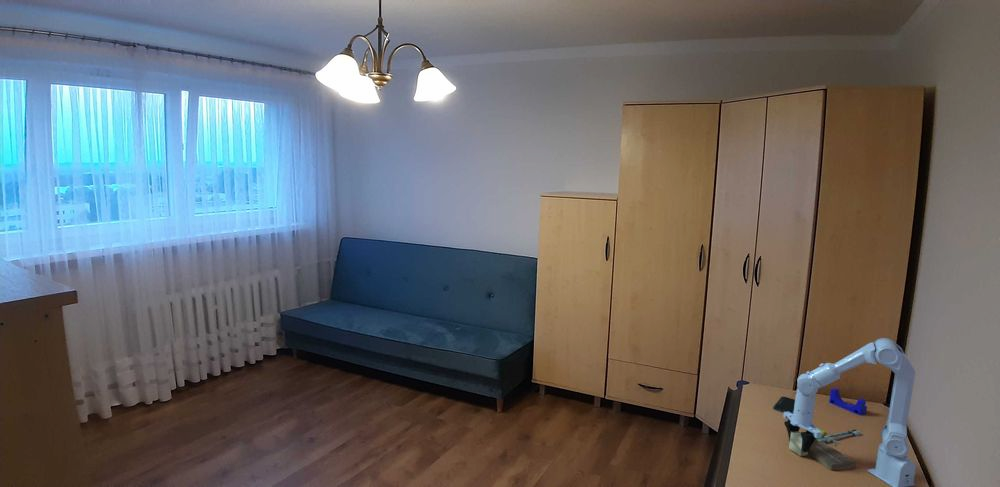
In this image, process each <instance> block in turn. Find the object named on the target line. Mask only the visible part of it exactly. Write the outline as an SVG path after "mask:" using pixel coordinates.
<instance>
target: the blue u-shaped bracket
mask: <svg viewBox="0 0 1000 487" xmlns="http://www.w3.org/2000/svg"><path fill="white" fill-rule="evenodd" d="M829 403H830V405H831V404H832V405H834V406H836V407H839V408H841V409H843V410H846V411H848V412H851V413H853V414H855V415H858V416H862V415H866V414H867V408H868V406H867V405H866V403H867V400H866V399H864V398H860V399H857V401H856V403H855V404H853V403H847V402H845V401H844V400H843V398H842V397H841V396H840V389H839V388H831V389H830V396H829Z"/></svg>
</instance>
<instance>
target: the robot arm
mask: <svg viewBox="0 0 1000 487" xmlns="http://www.w3.org/2000/svg"><path fill="white" fill-rule="evenodd" d="M877 362H879V364H881V365H882V366H885V367H886V368H888V369H890V371H892V372H893V373H894V378H893V382H892V383H893V384H892V391H891V396H890V397H891V398H890V402H889V403H890V404H889V408H888V416H887V419H886V421H885V425H884V426H883V427H882V428H881V430H880V436H881V438H882V442H881V443H880V444H879V445H878V450H877V456H876V461H875V462H876V463H875V468H868V469H867V472H868V473H870V474H872V475H873V476H875V477H877V478H878V479H879V480H881V481H882V482H884V483H885V484H887V485H889V486H890V487H914V486H915V485H916V484H915V482H914V480H915V477H916V469H917V467H916V464H915V462H914V461H913V460H911V458H909V457H908V454H909V451H910V446H909V444H908V441H907V440H908V439H907V438H908V432H907V430H908V428H907V427H908V426H907V425H908V421H909V413H910V409H911V408H910V407H911V401H912V396H913V395H912V394H913V389H914V384H915V377H916V371H915V368H914V367H913V365H912V363H911V362H910V360H909V358H908V357H907V355H906V354H905V353H904V351H903V349H902V347H901V346H899V345H898V344H897V343H896V342H895V341H894V340H892V339H890V338H886V337H882V338H878V339H877V340H875V341H873V342H869V343H867V344H865V345H864V346H862V347H861V348H859V349H858V350H857V349H856V350H855V351H854V352H853V353H850V354H848V355H847V356H845V357H843V358H842V359H840V360H838V361H837V362H834V363H831V362H826V363H823V362H822V363H820V364H819V366H818V367H816V368H815V369H812V370H811V371H810V370H807V371H806V373H802V374H800V375H799V376H798V377H797V379H796V381H797V384H796V386H797V389H796V394H795V399H794V400H795V405H794V413H793V414H792V413H790V412H784V413H783V415H782V416H783V419H787V420H785V421H784V426H785V429H786V430H787V436H788V441H789V443H790V437H791V432H795V431H799V432H800V429H803V430H804V431H801V432H800V433H801V436H802V451H803V452H809V449H810V447H811V445H812V444H813V442H814V441H815V440H816V439H817V438H821V436H822V432H821V431H819V430H818V429H817V428H816V427H817V426H816V425H815V424H814V423H813V418H814V413H815V411H814V410H815V403H816V398H815V397H816V394H817V393H818V390H819V389H821V388H824V387H827V385H829V384H832V383H833V382H836V381H837V380H839V379H841V378H840V377H841V374H842V373H845V372H847V371H849V370H850V369H853V368H856V367H857V366H861V365H862V364H865V363H867V364H873V365H877ZM815 426H816V427H815Z"/></svg>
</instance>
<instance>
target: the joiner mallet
mask: <svg viewBox="0 0 1000 487" xmlns="http://www.w3.org/2000/svg"><path fill="white" fill-rule="evenodd" d="M813 444H818V440H815V441H814V442H813ZM788 448H789V449H790V450H791V451H793V452H794V453H796V454H797V455H798V456H799V457H803V456H804V457H805V456H809V455H808V452H803V451H802V436H801V432H800V430H799V431H795V432H791V437H790V442H789V446H788Z"/></svg>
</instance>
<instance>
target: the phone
mask: <svg viewBox="0 0 1000 487" xmlns="http://www.w3.org/2000/svg"><path fill="white" fill-rule="evenodd" d="M794 405H795V399H794V398H792V397H791V398H790V397H786V396H781V397H780V398H779V400H777V402H776V403H775V404H774V405H773V406H772V409H773V410H774V411H776V412H780V413H783V414H784V412H790V413H792V414H793V413H794Z"/></svg>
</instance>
